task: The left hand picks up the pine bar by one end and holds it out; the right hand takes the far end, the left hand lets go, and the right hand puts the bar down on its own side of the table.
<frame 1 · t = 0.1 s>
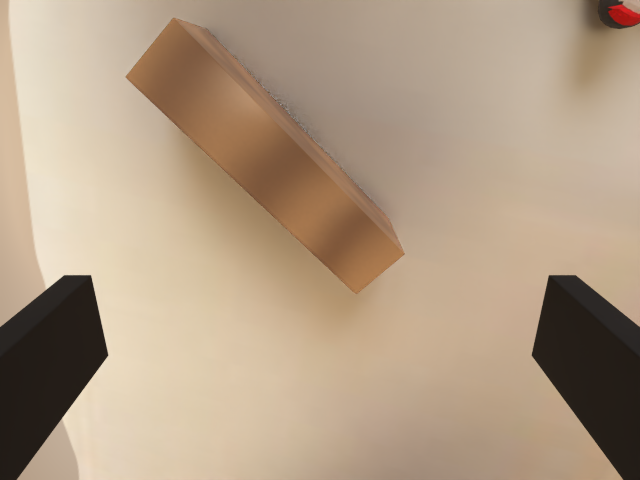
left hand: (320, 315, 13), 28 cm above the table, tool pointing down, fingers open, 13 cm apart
bar: (284, 151, 39), on the table
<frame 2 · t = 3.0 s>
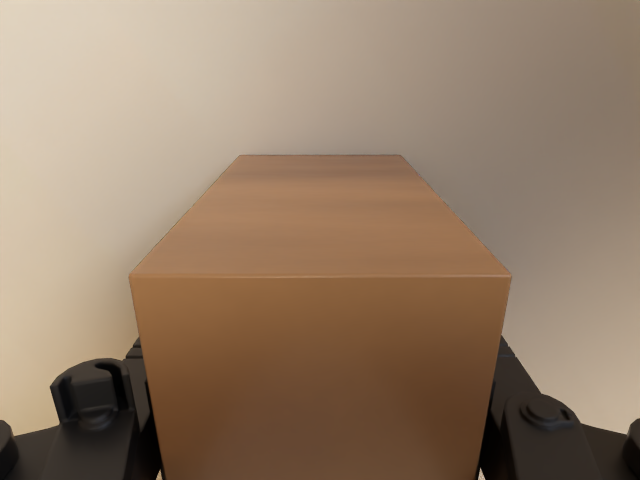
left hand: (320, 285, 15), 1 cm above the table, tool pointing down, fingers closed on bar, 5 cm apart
bar: (320, 432, 18), on the table, touching left hand
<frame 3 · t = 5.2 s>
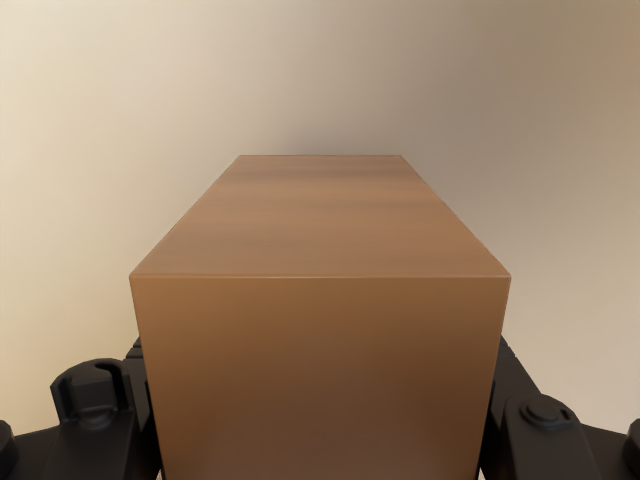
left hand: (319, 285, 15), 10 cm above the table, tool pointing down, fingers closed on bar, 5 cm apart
bar: (320, 432, 18), point 9 cm above the table, touching left hand
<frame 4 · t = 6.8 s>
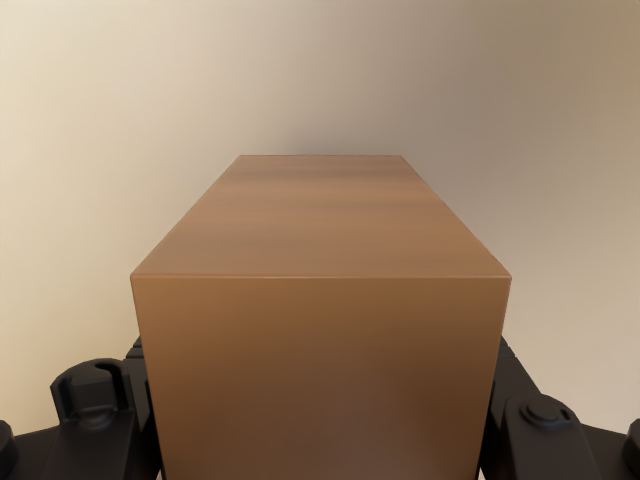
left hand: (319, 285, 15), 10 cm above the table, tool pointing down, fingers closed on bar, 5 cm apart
bar: (319, 432, 18), point 9 cm above the table, touching left hand, right hand
when the left hand's fingers open (10 cm above the table, at t = 7.8 s): bar stays where it is, held by the right hand.
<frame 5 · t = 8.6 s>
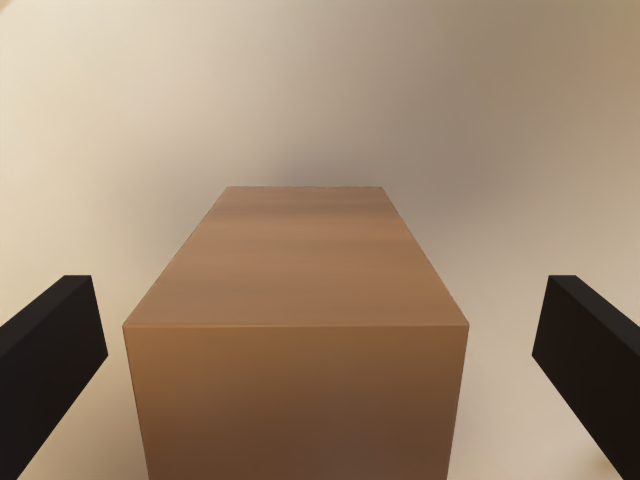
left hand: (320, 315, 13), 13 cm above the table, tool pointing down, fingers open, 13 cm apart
bar: (306, 451, 18), point 11 cm above the table, touching right hand
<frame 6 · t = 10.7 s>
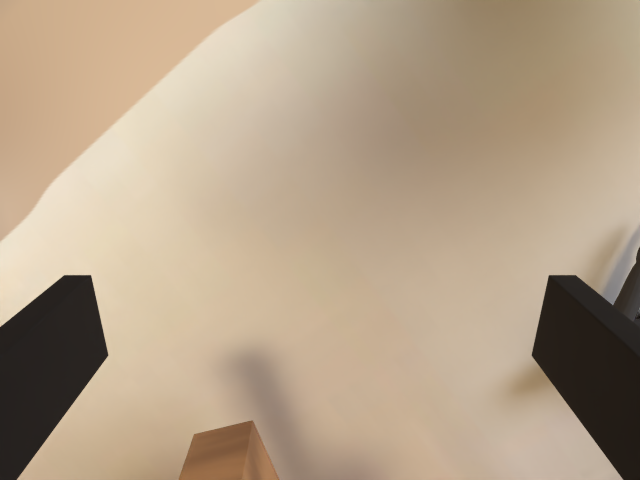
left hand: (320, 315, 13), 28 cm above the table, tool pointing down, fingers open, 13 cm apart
when the right hand's fingers open (5 cm above the table, at t = 12.2 s): bar drops 2 cm, on the table.
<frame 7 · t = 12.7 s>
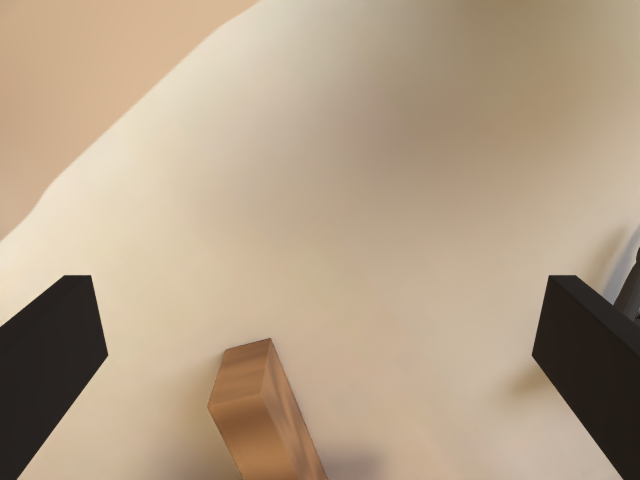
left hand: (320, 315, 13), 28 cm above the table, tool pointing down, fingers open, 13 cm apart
bar: (282, 422, 50), on the table
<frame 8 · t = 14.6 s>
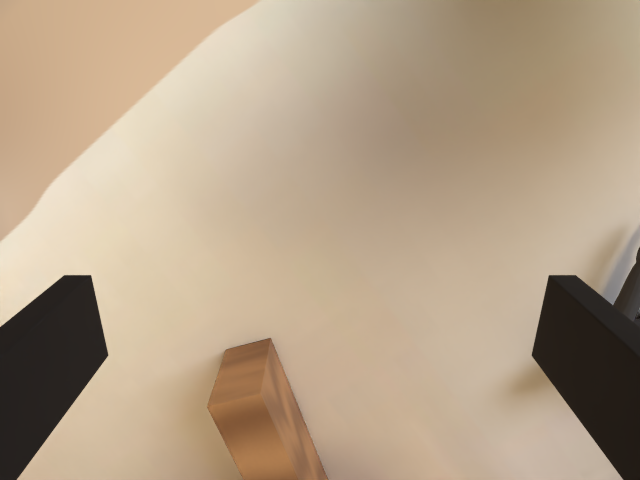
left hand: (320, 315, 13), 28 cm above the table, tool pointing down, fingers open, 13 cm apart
bar: (282, 422, 50), on the table
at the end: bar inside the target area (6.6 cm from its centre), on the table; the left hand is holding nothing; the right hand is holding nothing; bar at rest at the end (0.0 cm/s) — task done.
